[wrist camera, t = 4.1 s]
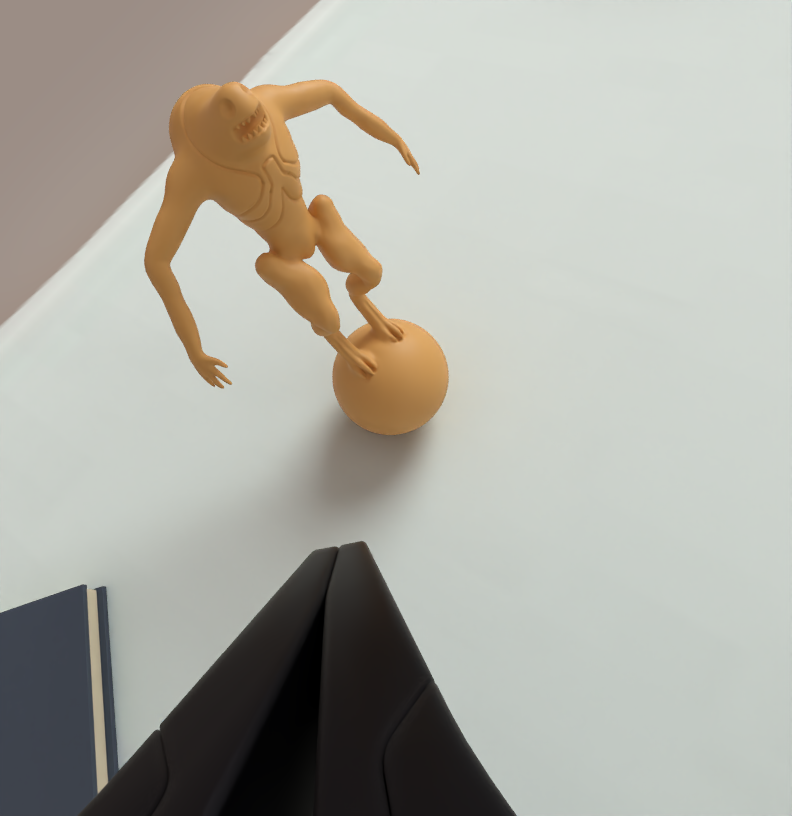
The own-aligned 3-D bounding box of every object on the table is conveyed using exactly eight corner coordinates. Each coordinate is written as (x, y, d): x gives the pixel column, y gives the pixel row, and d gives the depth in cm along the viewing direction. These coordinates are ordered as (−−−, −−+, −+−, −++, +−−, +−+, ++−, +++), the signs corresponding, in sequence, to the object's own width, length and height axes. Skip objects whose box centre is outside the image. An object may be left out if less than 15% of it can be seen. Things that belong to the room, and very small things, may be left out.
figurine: (371, 519, 18) (206, 361, 7) (252, 427, 20) (-18, 194, 9) (504, 344, 20) (536, 3, 9) (383, 276, 22) (288, -70, 11)
